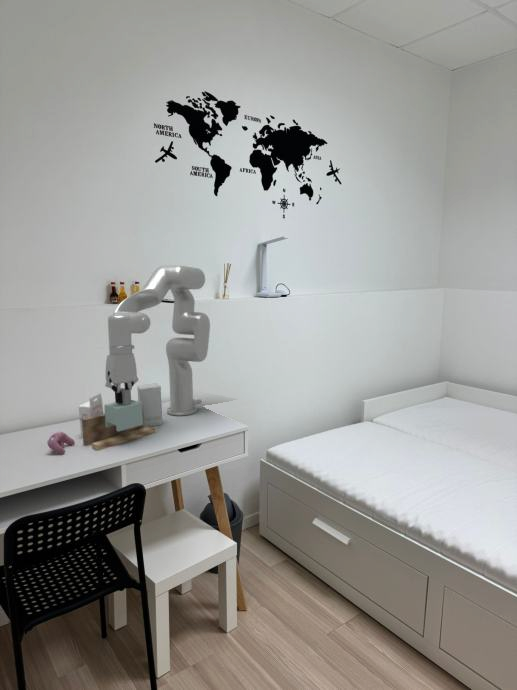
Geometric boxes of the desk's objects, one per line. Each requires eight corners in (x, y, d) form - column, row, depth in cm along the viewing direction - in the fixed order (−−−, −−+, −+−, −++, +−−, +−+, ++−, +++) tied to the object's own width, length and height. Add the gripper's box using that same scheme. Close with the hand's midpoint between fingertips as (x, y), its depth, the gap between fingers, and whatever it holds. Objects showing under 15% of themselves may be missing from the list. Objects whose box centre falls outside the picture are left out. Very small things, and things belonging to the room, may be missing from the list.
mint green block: (129, 420, 182) (128, 385, 181) (143, 424, 177) (141, 388, 175) (105, 426, 175) (103, 390, 173) (118, 431, 170) (116, 394, 168)
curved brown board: (141, 427, 191) (140, 404, 189) (155, 432, 185) (154, 409, 184) (83, 444, 173) (81, 419, 172) (96, 450, 167) (95, 424, 166)
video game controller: (65, 448, 173) (55, 431, 173) (76, 443, 173) (66, 425, 172) (53, 459, 164) (42, 441, 163) (65, 453, 163) (54, 435, 162)
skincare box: (159, 420, 200) (158, 382, 197) (163, 425, 194) (161, 386, 191) (138, 423, 196) (136, 384, 194) (141, 428, 190) (139, 388, 188)
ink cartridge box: (92, 429, 189) (90, 392, 186) (104, 430, 188) (102, 392, 185) (80, 437, 180) (77, 397, 178) (92, 438, 179) (90, 398, 177)
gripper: (134, 346, 181) (136, 395, 183) (93, 352, 169) (96, 404, 171) (146, 348, 176) (148, 399, 178) (105, 354, 164) (108, 408, 166)
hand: (123, 401), depth 175 cm, fingers closed on mint green block, 2 cm apart
